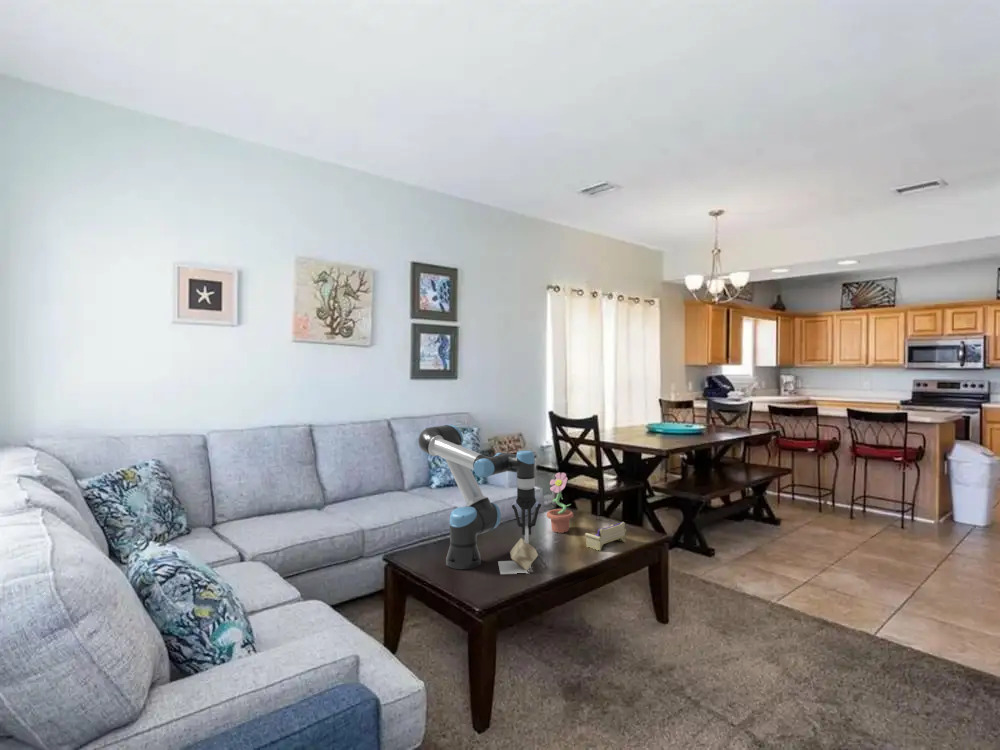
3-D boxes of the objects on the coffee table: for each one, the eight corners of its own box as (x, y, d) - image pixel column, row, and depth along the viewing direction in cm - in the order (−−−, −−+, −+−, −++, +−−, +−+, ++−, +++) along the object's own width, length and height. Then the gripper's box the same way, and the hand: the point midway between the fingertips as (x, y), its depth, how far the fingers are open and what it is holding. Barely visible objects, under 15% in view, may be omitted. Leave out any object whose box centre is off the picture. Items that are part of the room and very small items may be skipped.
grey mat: (500, 574, 231) (500, 573, 231) (497, 561, 245) (497, 561, 245) (534, 573, 232) (534, 572, 232) (529, 560, 246) (529, 560, 246)
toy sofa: (611, 537, 278) (611, 517, 277) (626, 541, 271) (626, 521, 271) (584, 547, 264) (584, 526, 263) (599, 552, 257) (599, 530, 257)
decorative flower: (539, 529, 290) (539, 472, 289) (559, 524, 299) (559, 468, 298) (559, 536, 278) (559, 477, 277) (579, 531, 287) (579, 473, 286)
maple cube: (538, 555, 235) (525, 570, 235) (535, 548, 243) (523, 563, 243) (523, 543, 234) (511, 559, 234) (521, 537, 242) (509, 552, 242)
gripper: (539, 484, 242) (540, 538, 243) (509, 485, 241) (510, 540, 242) (542, 489, 235) (543, 544, 235) (511, 490, 233) (512, 545, 234)
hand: (526, 542), depth 239 cm, fingers closed
